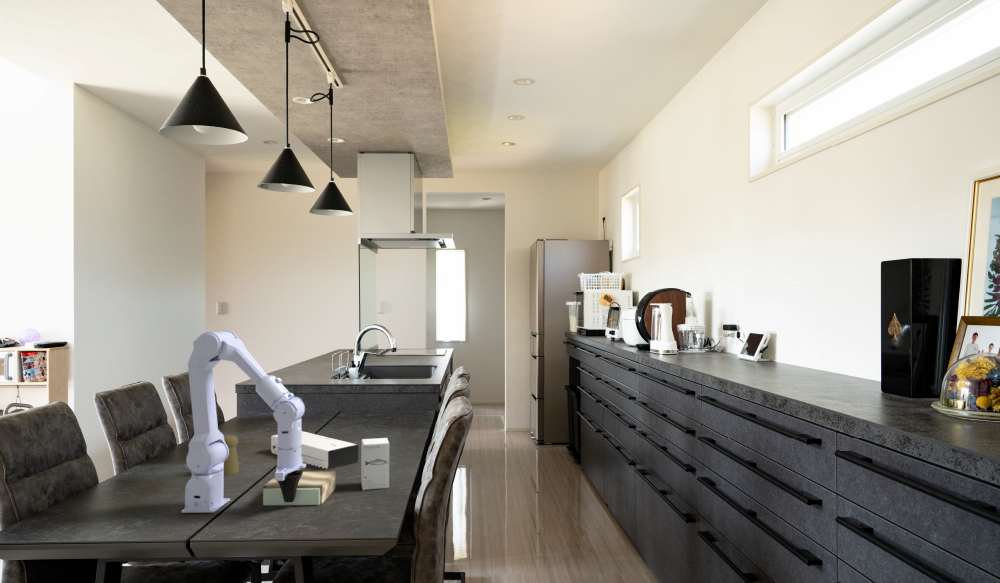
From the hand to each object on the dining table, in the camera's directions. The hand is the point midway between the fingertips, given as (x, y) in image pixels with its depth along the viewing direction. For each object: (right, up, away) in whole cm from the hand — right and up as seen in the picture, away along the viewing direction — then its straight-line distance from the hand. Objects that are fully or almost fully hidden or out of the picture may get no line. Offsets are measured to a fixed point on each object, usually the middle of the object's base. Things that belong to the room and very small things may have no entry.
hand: (289, 501), depth 150 cm
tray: (0, -2, +8) cm, 9 cm away
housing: (0, -2, +8) cm, 9 cm away
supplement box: (+18, -2, +18) cm, 25 cm away
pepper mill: (-29, -2, +31) cm, 43 cm away
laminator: (-10, -3, +49) cm, 50 cm away
